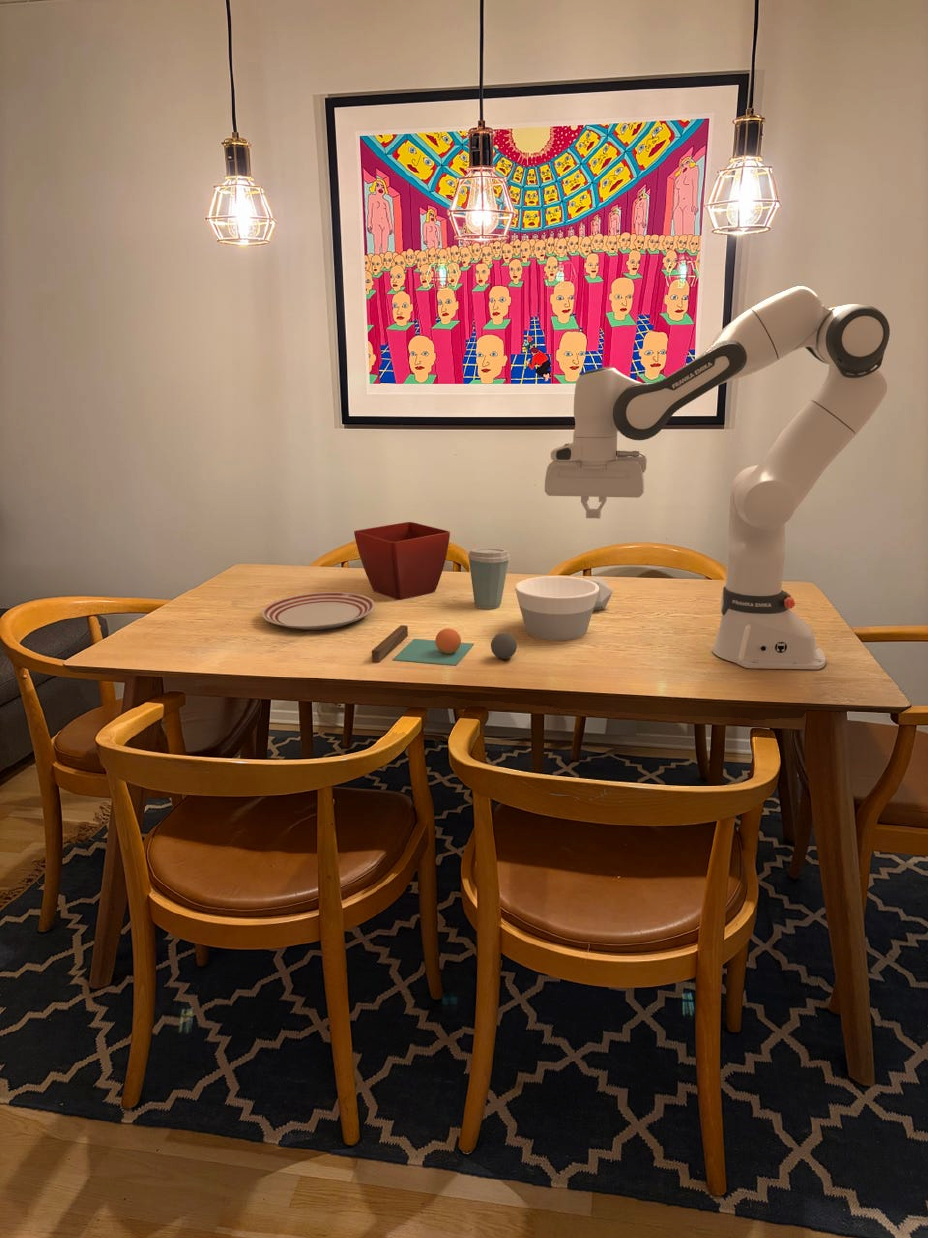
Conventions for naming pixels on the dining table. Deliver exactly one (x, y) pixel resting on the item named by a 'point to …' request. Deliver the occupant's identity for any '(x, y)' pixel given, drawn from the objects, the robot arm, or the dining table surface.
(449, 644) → the ball
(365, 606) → the dinner plate
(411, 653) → the mark
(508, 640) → the ball
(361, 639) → the dining table surface
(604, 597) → the die
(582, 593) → the bowl
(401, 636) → the rail
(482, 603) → the disposable coffee cup
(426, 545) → the plant pot
